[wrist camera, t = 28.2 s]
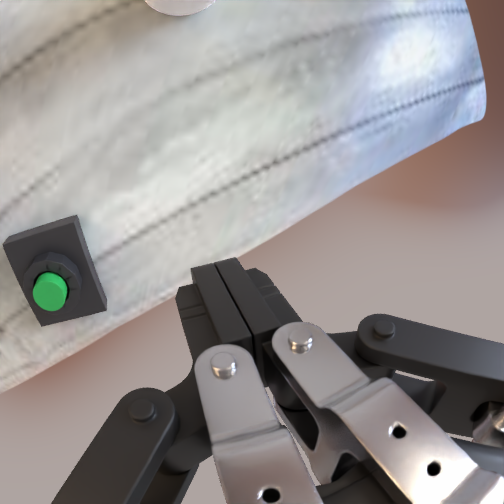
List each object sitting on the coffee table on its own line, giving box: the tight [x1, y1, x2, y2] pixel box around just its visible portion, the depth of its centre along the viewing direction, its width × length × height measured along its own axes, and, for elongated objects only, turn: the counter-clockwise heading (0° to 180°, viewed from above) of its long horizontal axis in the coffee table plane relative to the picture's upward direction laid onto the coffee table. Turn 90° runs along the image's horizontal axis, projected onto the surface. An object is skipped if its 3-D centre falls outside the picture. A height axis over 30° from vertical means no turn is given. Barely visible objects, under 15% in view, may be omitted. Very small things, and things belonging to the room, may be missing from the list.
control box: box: [3, 215, 107, 326], centre depth 29 cm, size 11×9×4 cm
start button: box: [33, 272, 67, 311], centre depth 26 cm, size 4×4×2 cm
